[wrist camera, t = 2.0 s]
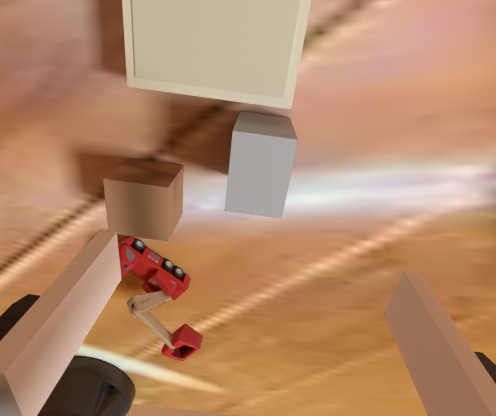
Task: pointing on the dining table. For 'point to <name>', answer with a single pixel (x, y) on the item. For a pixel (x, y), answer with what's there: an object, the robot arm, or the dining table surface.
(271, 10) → the plinth
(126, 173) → the block
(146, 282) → the toy fire truck
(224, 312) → the dining table surface
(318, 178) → the dining table surface
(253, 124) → the block
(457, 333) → the robot arm
